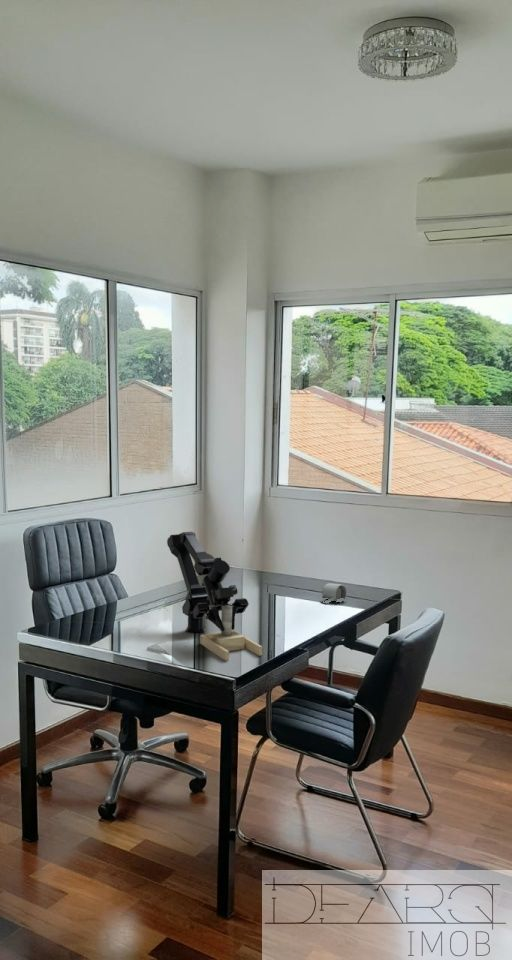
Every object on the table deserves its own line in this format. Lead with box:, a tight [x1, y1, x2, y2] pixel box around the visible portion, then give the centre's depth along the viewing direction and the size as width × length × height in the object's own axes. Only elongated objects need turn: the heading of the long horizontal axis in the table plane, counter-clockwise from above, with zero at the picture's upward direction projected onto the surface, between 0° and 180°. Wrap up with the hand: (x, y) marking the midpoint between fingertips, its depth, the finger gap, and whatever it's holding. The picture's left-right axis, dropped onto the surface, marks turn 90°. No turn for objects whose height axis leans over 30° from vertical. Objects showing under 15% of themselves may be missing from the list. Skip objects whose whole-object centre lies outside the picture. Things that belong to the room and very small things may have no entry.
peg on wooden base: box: [208, 606, 246, 652], centre depth 260 cm, size 9×9×14 cm
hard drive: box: [146, 641, 172, 657], centre depth 259 cm, size 2×8×12 cm
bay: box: [199, 630, 263, 661], centre depth 258 cm, size 20×14×4 cm
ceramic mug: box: [320, 582, 348, 601], centre depth 328 cm, size 11×8×8 cm
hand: (228, 630), depth 259 cm, fingers closed on peg on wooden base, 3 cm apart
